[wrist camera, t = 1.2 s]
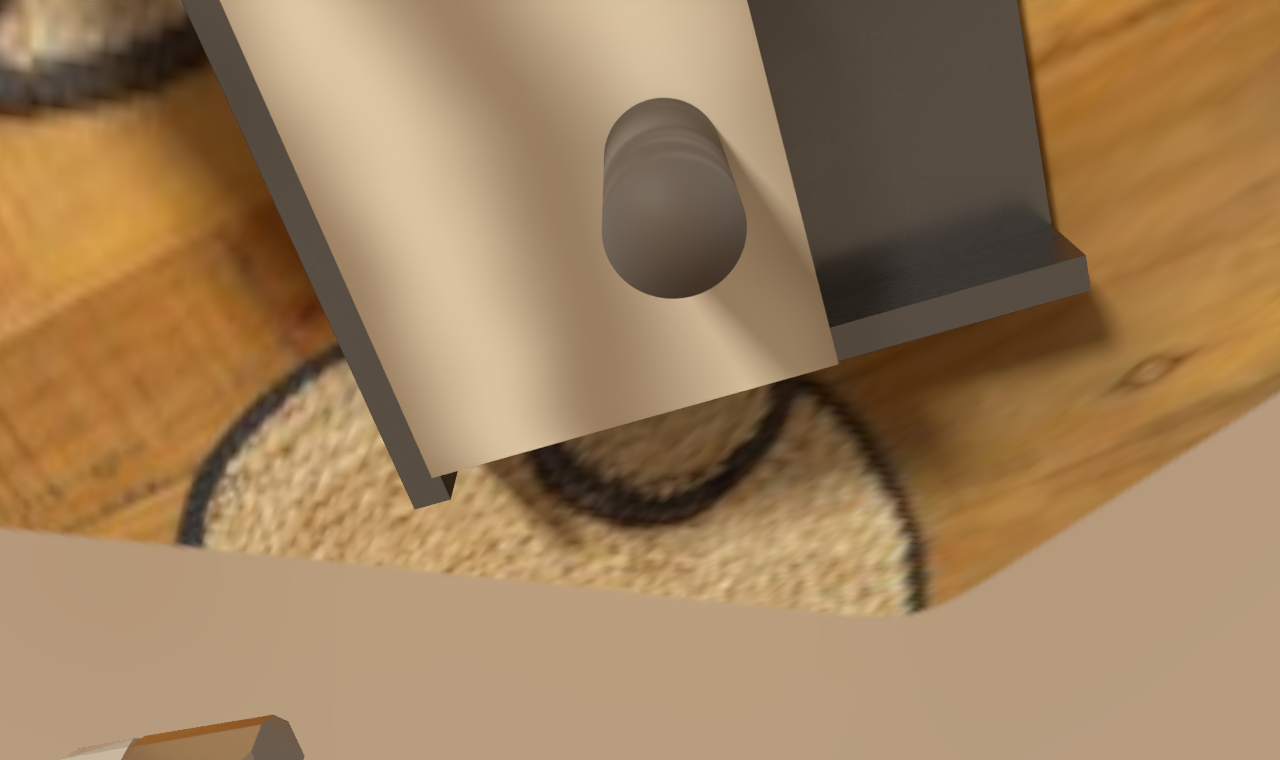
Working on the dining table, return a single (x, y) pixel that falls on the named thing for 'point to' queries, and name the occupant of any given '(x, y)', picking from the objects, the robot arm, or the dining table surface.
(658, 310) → the beige knobbed block
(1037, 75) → the dining table surface
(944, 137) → the bay
